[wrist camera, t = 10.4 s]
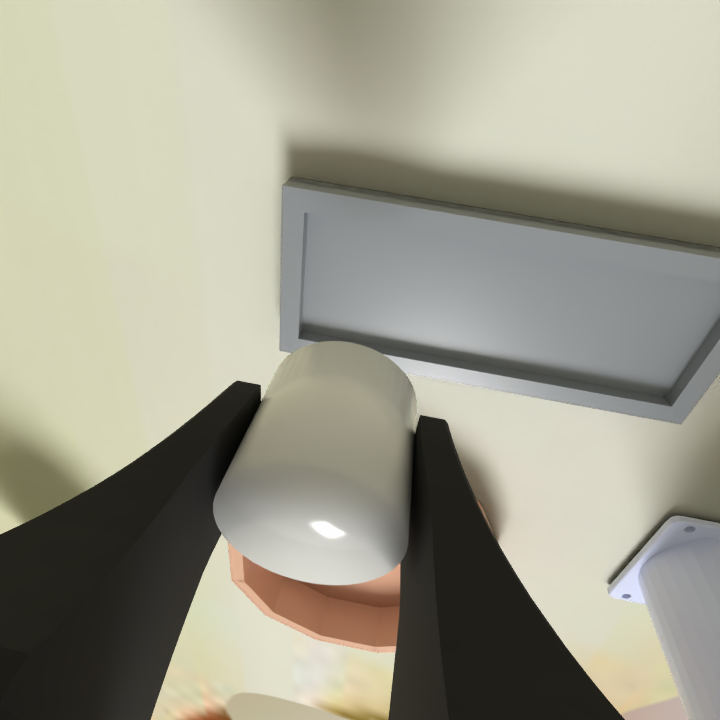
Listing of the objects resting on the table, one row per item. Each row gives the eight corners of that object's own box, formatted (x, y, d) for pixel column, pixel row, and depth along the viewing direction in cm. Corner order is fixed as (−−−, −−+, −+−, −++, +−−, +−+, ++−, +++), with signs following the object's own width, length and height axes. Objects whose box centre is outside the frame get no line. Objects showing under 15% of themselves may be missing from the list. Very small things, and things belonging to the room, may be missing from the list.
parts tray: (774, 257, 16) (796, 271, 15) (669, 405, 20) (680, 424, 19) (291, 176, 17) (282, 185, 16) (287, 336, 21) (279, 350, 20)
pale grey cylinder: (431, 356, 11) (427, 487, 8) (402, 465, 13) (390, 599, 10) (272, 327, 11) (205, 444, 8) (271, 439, 14) (219, 564, 10)
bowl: (530, 485, 24) (541, 539, 21) (457, 620, 33) (459, 670, 31) (244, 430, 25) (221, 476, 22) (251, 578, 34) (235, 622, 31)
